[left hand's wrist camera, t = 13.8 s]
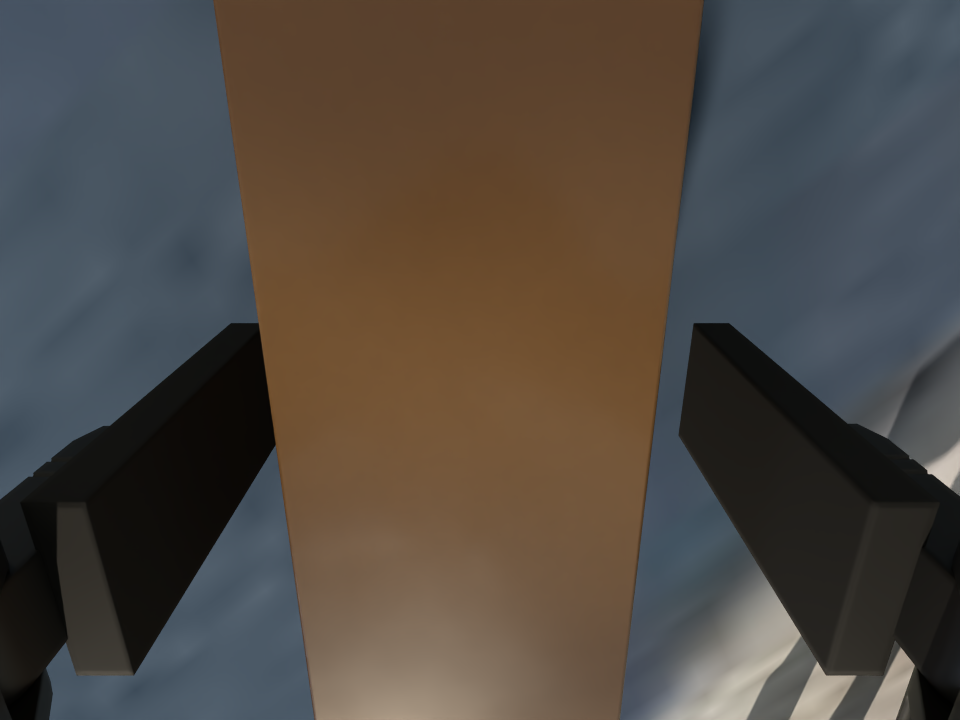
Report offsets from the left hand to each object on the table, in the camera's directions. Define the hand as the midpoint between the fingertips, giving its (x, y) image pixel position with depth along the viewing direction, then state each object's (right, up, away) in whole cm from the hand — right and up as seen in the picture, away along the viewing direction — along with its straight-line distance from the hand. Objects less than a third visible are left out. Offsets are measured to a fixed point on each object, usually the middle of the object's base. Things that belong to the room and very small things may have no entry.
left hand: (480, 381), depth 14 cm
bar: (0, +24, -7) cm, 25 cm away
